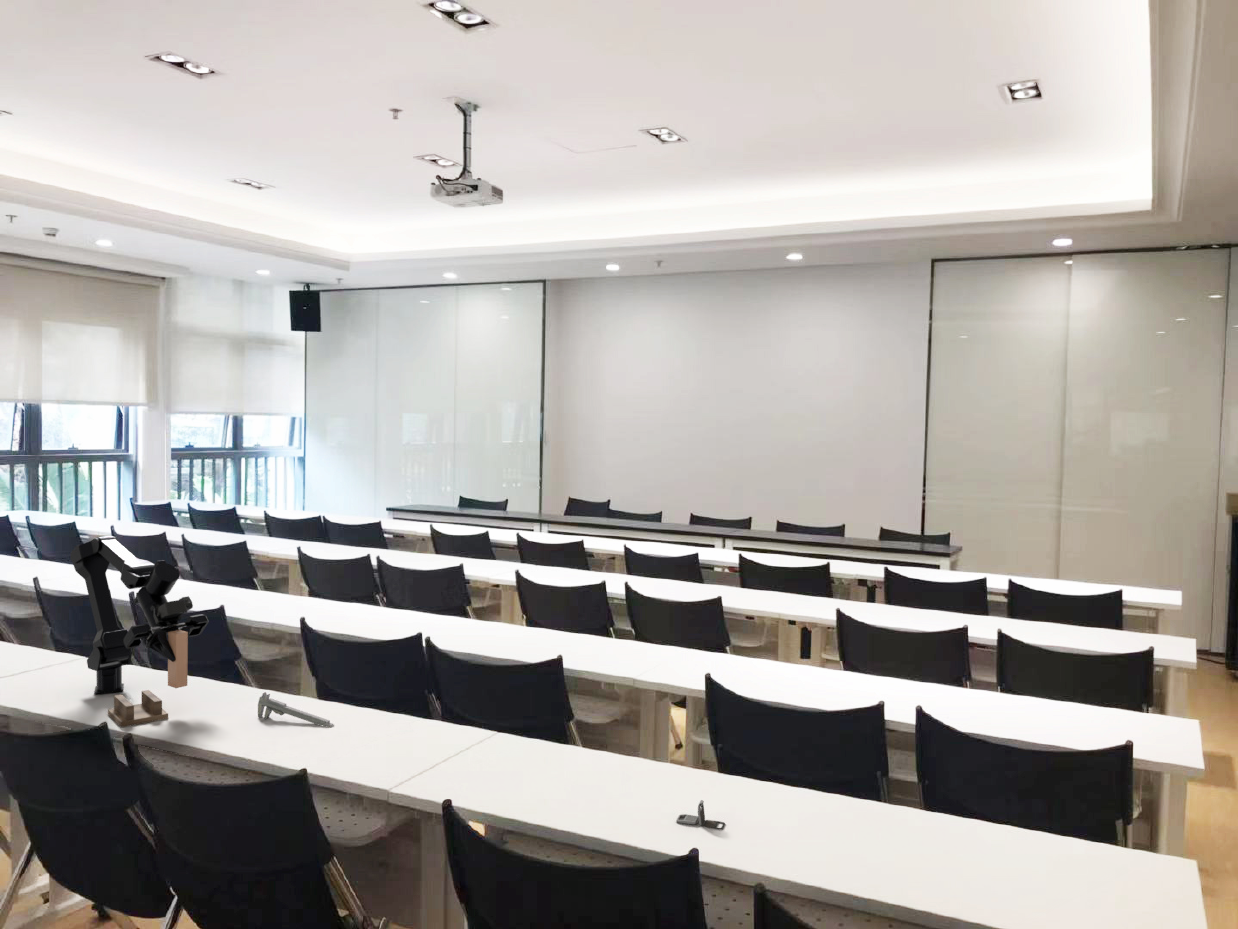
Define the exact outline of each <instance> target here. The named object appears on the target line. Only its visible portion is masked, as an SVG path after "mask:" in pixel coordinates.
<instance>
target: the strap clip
mask: <svg viewBox="0 0 1238 929" xmlns="http://www.w3.org/2000/svg"><path fill="white" fill-rule="evenodd" d="M704 806H705V805H704V800H702V799H701V800H700V801H699V803H698V805H697V815H692V814H687V813H685V814H684V813H683V814H679V815H678V816H677V819H676V821H675V822H676V824H678V825H682V826H683V825H684V826H690V827H696V826H698V825H699V826H700V827H702V828H705V829H710V830H719V831H722V830H724V828H725V825H726V823H725V822H723V821H718V820H710V819H706V817H705V816H706V815H705V807H704ZM719 824H720V825H722V826H721V827H718V825H719Z"/></svg>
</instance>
